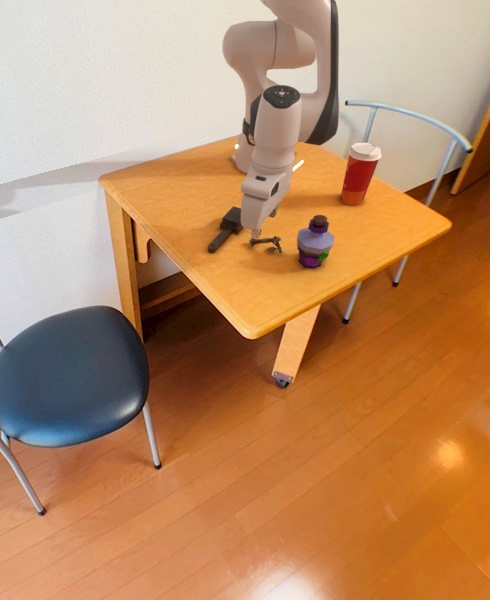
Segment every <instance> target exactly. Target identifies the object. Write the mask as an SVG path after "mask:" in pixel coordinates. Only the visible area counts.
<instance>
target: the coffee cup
mask: <svg viewBox="0 0 490 600" xmlns="http://www.w3.org/2000/svg"><path fill="white" fill-rule="evenodd" d="M347 153H348V157H347V163H346V169H345V174H344V179H343V184H342V189H341V194H340V200H341V202H342V203H344V204H346V205H349V206H358V205H361V204H362V203H363V201H364V198H365V196H366V195H367V191H368V189H369V188H370V187H369V186H370V184H371V181H372V180H373V179H372V178H373V176H374V173H375V171H376V168H377V165H378V163H379V160H380V159H381V158H382V149H381V148H380V147H379V146H377V145H375V144H372V143H370V142H356V143H353V144H352V145H351V147H350V148H349V149H348V152H347Z"/></svg>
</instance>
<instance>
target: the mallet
mask: <svg viewBox="0 0 490 600" xmlns="http://www.w3.org/2000/svg"><path fill="white" fill-rule="evenodd" d="M221 219H222V220H221V222H220V223H219V230H221V231H220V232H219V233H218V234H217V235H216V236H215V237H214V238H213V239H212V240H211V242H210V243H209V244H208V245H207V252H208V253H209V254H215V253H216V252H217V251H218V250H219V249H220V248H221V247H222V245H224V243H225V241H227V240H228V239H229V238H230V236H231V235H232V234H234V235H236V236H238V235H239V234H240V233H241V232H242V231H243V229H245V228H244V227H243V226H242V225H241V207H239V206H232V207H231V208H230V209H229V210H228V211H227V212H226V213H225V214H224V215H223V216H222V218H221Z"/></svg>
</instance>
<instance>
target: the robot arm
mask: <svg viewBox="0 0 490 600" xmlns="http://www.w3.org/2000/svg"><path fill="white" fill-rule="evenodd" d="M259 1H260V2H261V3H262V5H264V7H266V8H268V9H269V10H270V11H271V13H272V14H274V16H275V17H277V18H276V19H274V20H247V21H243V22H238V23H235V24H231V25H230V26H229V27H228V28H227V30H226V32H225V33H224V35H223V39H222V44H221V49H222V56H223V59H224V60H225V62H226V64H227V65H228V66H229V67H231V69H232V70H234V72H235V73H236V74H237V75H238V77H239V78H240V80H241V82H242V84H243V88H244V94H245V95H244V96H245V107H244V108H245V109H244V110H245V111H244V117H243V120H242V124H241V125H242V130H241V133H239V134H238V136H237V140H236V144H235V145H234V149H235V153H234V154H232V155H231V157H230V159H231V161H232V162H234V164H235V166H236V168H237V169H238V170H239V171H241V172H243V173H244V174H246V175H245V177H244V179H243V181H242V182H241V185H240V192H241V193H243V195H242V198H241V204H240V208H241V225H242V226H243V227H244V228H243V229H245V230H246V229H247V230H249V231H251V233H250V236H251V238H252V237H254V239H259V237H260V236H261V234H262V228H261V226H262V225H263V223H264V222H265V221H266V220H267V219H268V218H272V219H273V218H275V217H276V216H277V214H278V209H279V208H280V207H279V206H280V204H281V202H282V200H283V199H284V198H285V196H286V195H287V194H288V193H289V190H290V188H291V183H292V179H293V173H294V171H295V170H296V169H298V168H299V167H300V166H301V165H302V164H303V163H304V160H301V161H299V162H298V163H297V164H296V165H295V161H296V154H295V149H296V146H297V144H298V143H304V144H308V145H314V146H322V145H324V144H326V143H327V142H328V141H330V140H331V139H333V138H334V137H335V136H336V134H337V132H338V129H339V126H340V121H341V108H340V102H339V101H340V99H339V65H340V64H339V61H340V60H339V55H340V53H339V52H340V35H339V34H340V31H339V29H340V28H339V27H340V26H339V10H338V5H337V1H336V0H259ZM315 62H316V80H317V81H316V90H315V91H313V92H300V91H299V90H297V88H295V87H293V86H290V85H284V84H279V83H278V82H277V81H274V80H272V79H270V78H269V77H268V76H267V73H268V71H269V70H296V69H301V68H304V67H308V66H311V65H313V64H314V63H315Z"/></svg>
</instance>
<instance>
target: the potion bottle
mask: <svg viewBox="0 0 490 600" xmlns="http://www.w3.org/2000/svg"><path fill="white" fill-rule="evenodd" d="M329 224H330V222H328V217H327V216H326V215H324V214H316V215H314V216H313V217H312V219H309V223H308V226H307V227H305V228H301V229H299V230H298V233H297V237H296V247H297V250H298V264H300V265H301V266H302V267H303V268H306V269H312V270H315V269H317V268H319V267H321V266H322V264H323V262H324V261H325V260H327V258H328V257H329V255H330V251H331V249H332V248H333V246H334V243H335V237H336V236H335V235H333V234H332V233H331V232H330V231H328V230H329V226H330V225H329Z"/></svg>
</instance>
